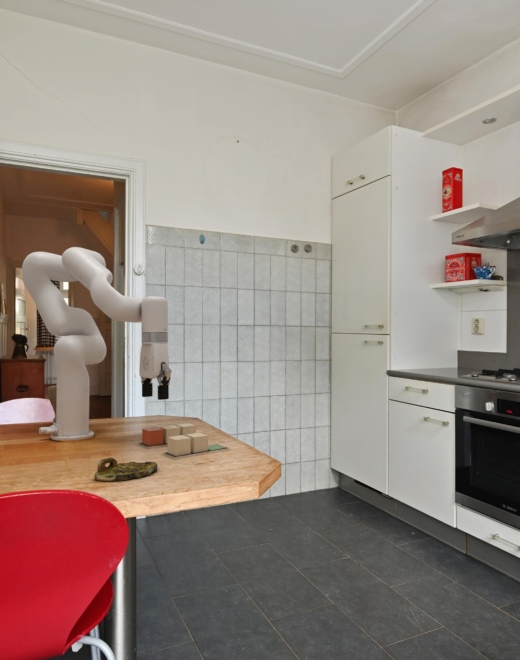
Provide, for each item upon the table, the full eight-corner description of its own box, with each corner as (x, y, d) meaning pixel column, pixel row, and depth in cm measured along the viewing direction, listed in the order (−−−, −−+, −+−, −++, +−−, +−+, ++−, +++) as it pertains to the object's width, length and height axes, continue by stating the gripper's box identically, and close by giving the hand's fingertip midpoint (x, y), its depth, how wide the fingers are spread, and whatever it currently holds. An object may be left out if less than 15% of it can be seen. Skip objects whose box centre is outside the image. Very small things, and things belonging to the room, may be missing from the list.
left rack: (147, 448, 134) (148, 431, 134) (138, 444, 139) (138, 428, 139) (199, 440, 145) (199, 425, 145) (189, 437, 150) (189, 422, 150)
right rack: (174, 458, 123) (174, 440, 123) (163, 454, 127) (163, 436, 128) (228, 449, 134) (228, 432, 134) (216, 445, 138) (216, 429, 138)
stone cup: (45, 423, 172) (46, 381, 173) (80, 420, 178) (80, 380, 179) (49, 430, 159) (50, 385, 159) (87, 427, 165) (87, 383, 165)
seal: (145, 468, 117) (86, 480, 106) (144, 449, 117) (85, 458, 107) (167, 472, 110) (106, 484, 100) (166, 451, 111) (105, 461, 100)
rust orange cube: (149, 446, 135) (149, 431, 135) (141, 443, 139) (142, 428, 139) (163, 443, 138) (163, 429, 138) (156, 441, 142) (156, 427, 142)
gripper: (129, 339, 144) (130, 396, 143) (157, 338, 130) (157, 401, 130) (152, 339, 148) (152, 394, 148) (181, 338, 135) (181, 399, 135)
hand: (155, 398), depth 139 cm, fingers open, 9 cm apart
